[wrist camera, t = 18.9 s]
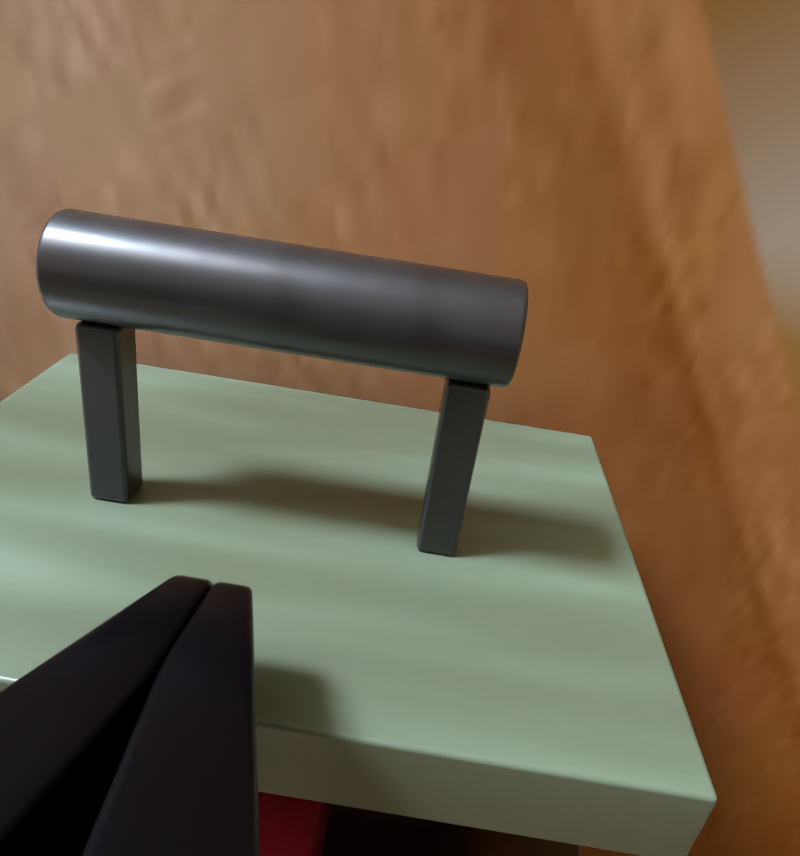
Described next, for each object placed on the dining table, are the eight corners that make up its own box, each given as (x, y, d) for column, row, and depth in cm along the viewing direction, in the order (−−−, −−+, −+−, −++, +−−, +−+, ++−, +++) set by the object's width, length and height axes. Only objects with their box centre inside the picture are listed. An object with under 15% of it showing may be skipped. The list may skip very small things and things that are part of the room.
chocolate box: (349, 708, 17) (285, 1055, 11) (249, 692, 18) (131, 1029, 11) (367, 571, 15) (299, 905, 9) (253, 553, 15) (110, 873, 9)
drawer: (49, 144, 13) (-515, 234, 5) (652, 237, 13) (913, 462, 5) (110, 757, 21) (-83, 1124, 14) (475, 819, 21) (480, 1224, 13)
